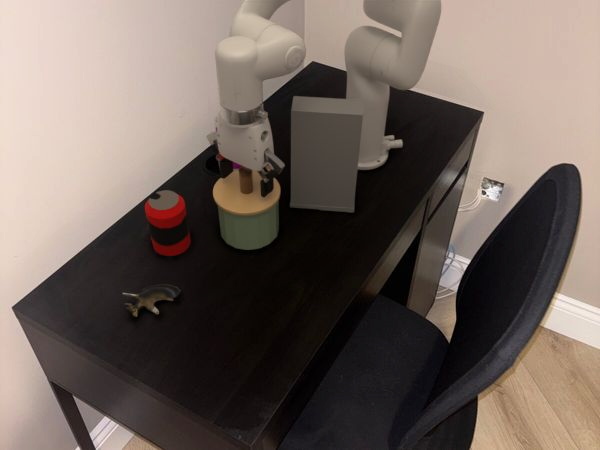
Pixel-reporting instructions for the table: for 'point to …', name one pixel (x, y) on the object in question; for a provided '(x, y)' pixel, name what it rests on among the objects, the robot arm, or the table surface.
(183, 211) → the soda can
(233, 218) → the canister
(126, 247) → the table surface
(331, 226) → the table surface
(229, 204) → the lid
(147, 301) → the eagle figurine
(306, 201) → the tall grey box
